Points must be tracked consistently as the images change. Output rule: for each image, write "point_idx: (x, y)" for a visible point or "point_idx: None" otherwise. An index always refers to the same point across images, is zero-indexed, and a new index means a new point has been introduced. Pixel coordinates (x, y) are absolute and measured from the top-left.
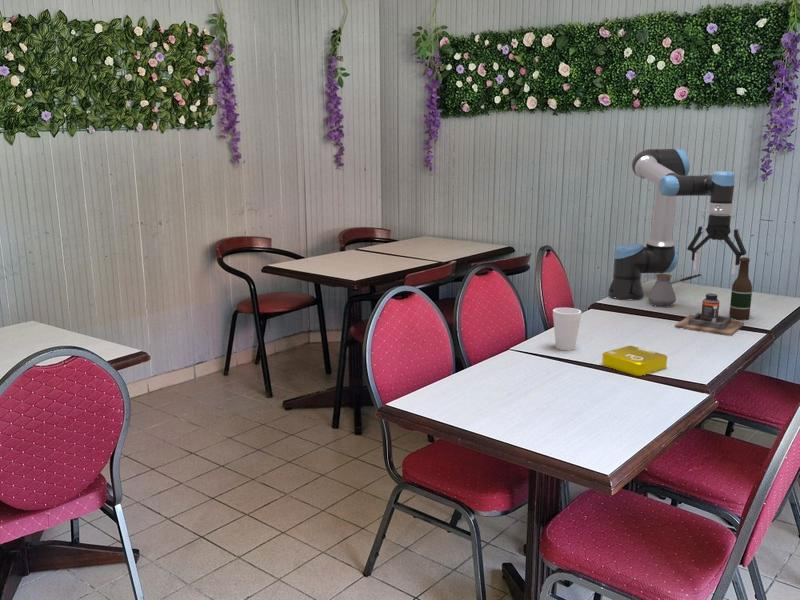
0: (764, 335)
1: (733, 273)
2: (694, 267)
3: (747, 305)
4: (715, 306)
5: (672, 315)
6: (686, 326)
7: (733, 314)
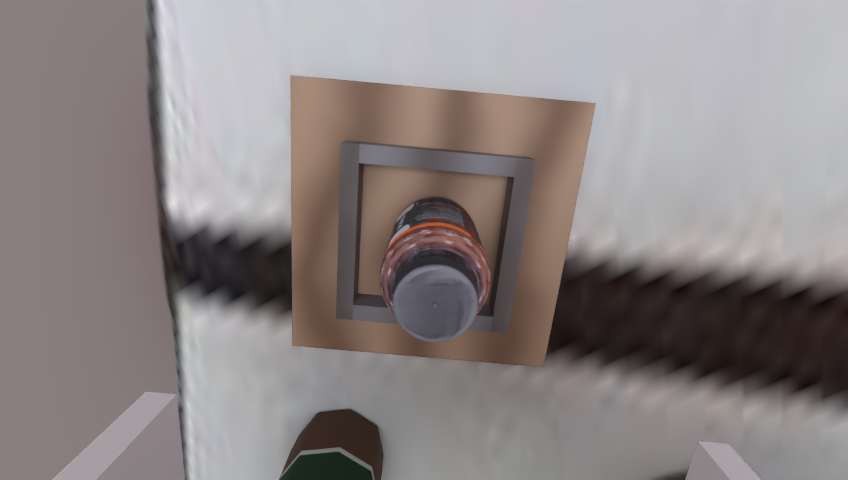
0: (166, 182)
1: (145, 400)
2: (743, 473)
3: (285, 477)
4: (397, 236)
5: (621, 355)
6: (532, 104)
7: (356, 428)
